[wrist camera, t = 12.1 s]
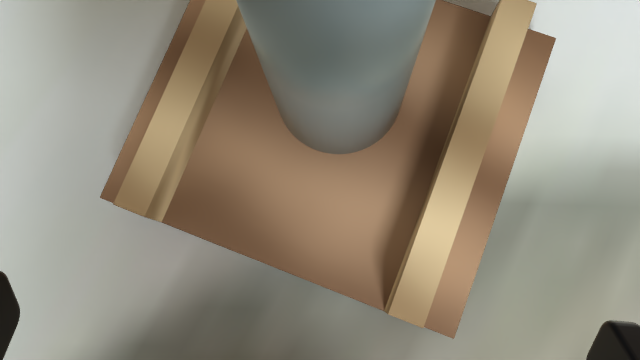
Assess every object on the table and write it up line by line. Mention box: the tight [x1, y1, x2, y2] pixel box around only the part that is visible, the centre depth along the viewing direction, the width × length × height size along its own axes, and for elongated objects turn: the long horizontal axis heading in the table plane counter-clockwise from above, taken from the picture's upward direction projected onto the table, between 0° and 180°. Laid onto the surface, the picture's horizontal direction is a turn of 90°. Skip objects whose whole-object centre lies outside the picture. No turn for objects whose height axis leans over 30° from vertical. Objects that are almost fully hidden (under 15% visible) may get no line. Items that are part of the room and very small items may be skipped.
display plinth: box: [100, 0, 556, 339], centre depth 21 cm, size 12×14×4 cm
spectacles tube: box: [236, 0, 436, 154], centre depth 15 cm, size 5×5×13 cm
